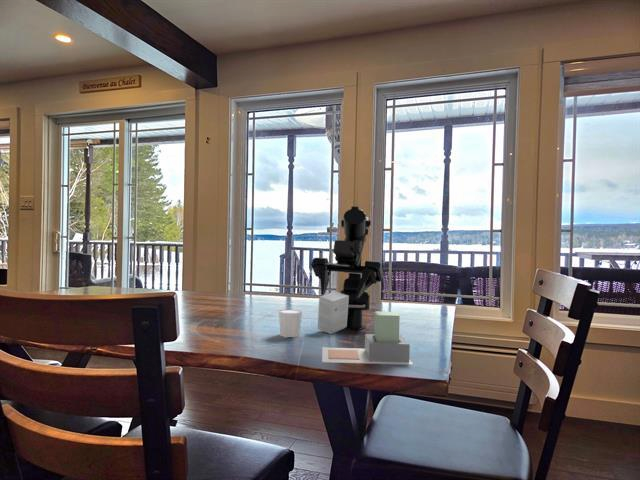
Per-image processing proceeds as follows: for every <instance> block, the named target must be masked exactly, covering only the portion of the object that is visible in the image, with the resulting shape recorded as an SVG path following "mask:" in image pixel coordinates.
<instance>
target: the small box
mask: <svg viewBox="0 0 640 480" xmlns="http://www.w3.org/2000/svg"><path fill="white" fill-rule="evenodd" d="M318 297H319V298H318V312H317V315H318V317H317V330H319V331H322V332H324V333H327V334H329V335H332V334H335V333H337V332H339V331H342V330H343V329H344V328H346V327H347V316H348V303H349V296H348V295H345V294H342V293H341V292H339V291H336V290H335V291H333V292H329V293H327V294H326V293H325V294H324V295H321V296H318Z"/></svg>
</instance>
